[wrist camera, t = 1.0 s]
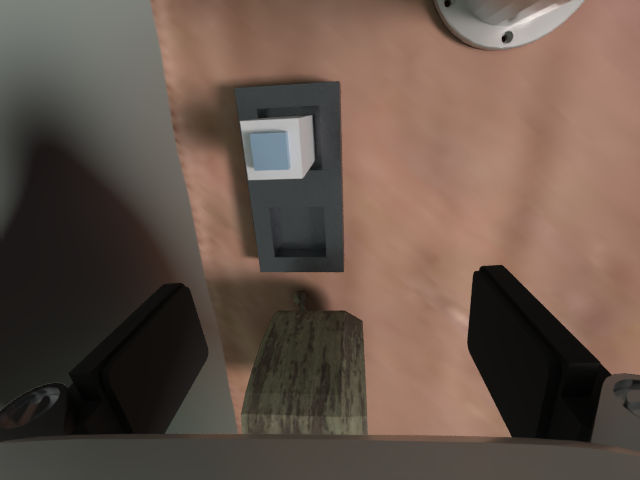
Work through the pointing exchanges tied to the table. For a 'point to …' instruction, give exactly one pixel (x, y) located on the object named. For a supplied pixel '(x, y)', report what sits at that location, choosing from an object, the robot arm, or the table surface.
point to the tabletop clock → (308, 375)
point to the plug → (279, 147)
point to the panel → (299, 183)
